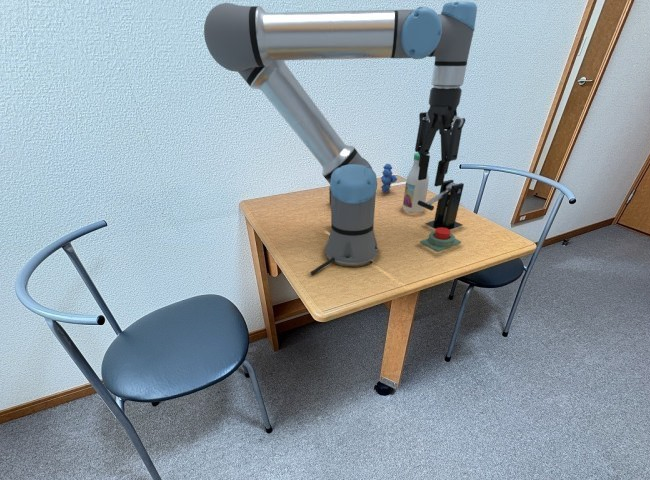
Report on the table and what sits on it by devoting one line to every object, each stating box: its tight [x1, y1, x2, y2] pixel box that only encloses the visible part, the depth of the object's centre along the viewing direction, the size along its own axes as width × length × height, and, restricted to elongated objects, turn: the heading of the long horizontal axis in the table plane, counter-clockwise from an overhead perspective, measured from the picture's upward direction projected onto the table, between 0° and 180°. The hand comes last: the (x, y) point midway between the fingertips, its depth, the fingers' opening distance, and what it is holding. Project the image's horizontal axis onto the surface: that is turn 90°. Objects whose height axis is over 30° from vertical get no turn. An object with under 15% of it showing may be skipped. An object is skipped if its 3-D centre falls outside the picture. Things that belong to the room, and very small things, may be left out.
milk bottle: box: [402, 152, 430, 214], centre depth 113 cm, size 8×8×20 cm
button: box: [434, 227, 452, 240], centre depth 96 cm, size 4×4×2 cm
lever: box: [417, 182, 457, 212], centre depth 100 cm, size 13×6×2 cm, turn 123°
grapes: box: [380, 163, 398, 194], centre depth 131 cm, size 12×7×12 cm, turn 165°
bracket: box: [424, 179, 465, 231], centre depth 104 cm, size 10×8×15 cm
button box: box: [419, 230, 462, 253], centre depth 97 cm, size 10×7×4 cm
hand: (430, 182), depth 94 cm, fingers open, 6 cm apart
